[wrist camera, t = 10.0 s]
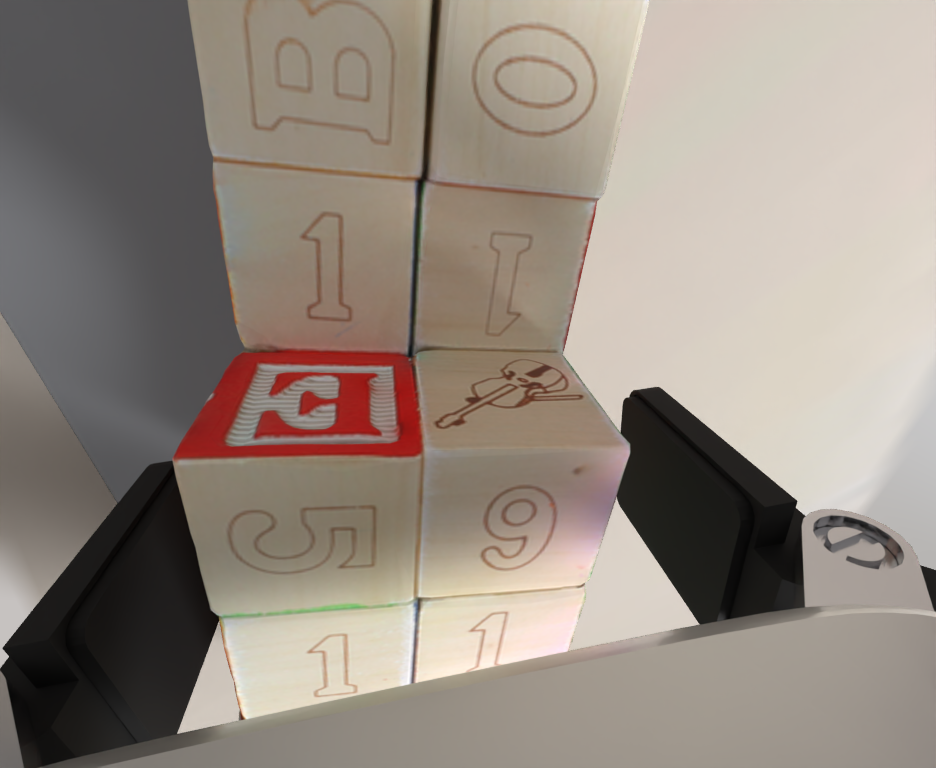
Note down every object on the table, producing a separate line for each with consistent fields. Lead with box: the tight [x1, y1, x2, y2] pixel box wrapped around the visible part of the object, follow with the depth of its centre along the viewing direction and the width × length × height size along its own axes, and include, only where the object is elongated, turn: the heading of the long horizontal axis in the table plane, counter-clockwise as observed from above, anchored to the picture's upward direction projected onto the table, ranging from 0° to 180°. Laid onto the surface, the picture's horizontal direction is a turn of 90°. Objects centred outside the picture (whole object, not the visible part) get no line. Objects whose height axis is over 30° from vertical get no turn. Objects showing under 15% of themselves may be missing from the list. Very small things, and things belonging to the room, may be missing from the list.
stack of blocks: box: [172, 0, 650, 721], centre depth 12 cm, size 21×6×12 cm, turn 174°
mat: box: [0, 0, 245, 503], centre depth 17 cm, size 22×16×1 cm
